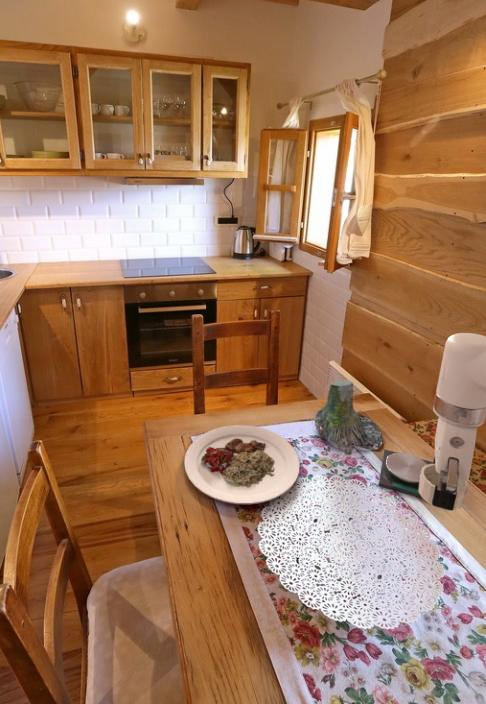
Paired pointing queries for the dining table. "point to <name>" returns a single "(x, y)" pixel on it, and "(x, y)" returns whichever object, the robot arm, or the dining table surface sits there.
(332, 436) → the tree stump
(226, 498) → the plated food
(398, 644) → the dining table surface
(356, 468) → the dining table surface
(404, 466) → the scale pan
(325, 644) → the dining table surface
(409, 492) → the scale
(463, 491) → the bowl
